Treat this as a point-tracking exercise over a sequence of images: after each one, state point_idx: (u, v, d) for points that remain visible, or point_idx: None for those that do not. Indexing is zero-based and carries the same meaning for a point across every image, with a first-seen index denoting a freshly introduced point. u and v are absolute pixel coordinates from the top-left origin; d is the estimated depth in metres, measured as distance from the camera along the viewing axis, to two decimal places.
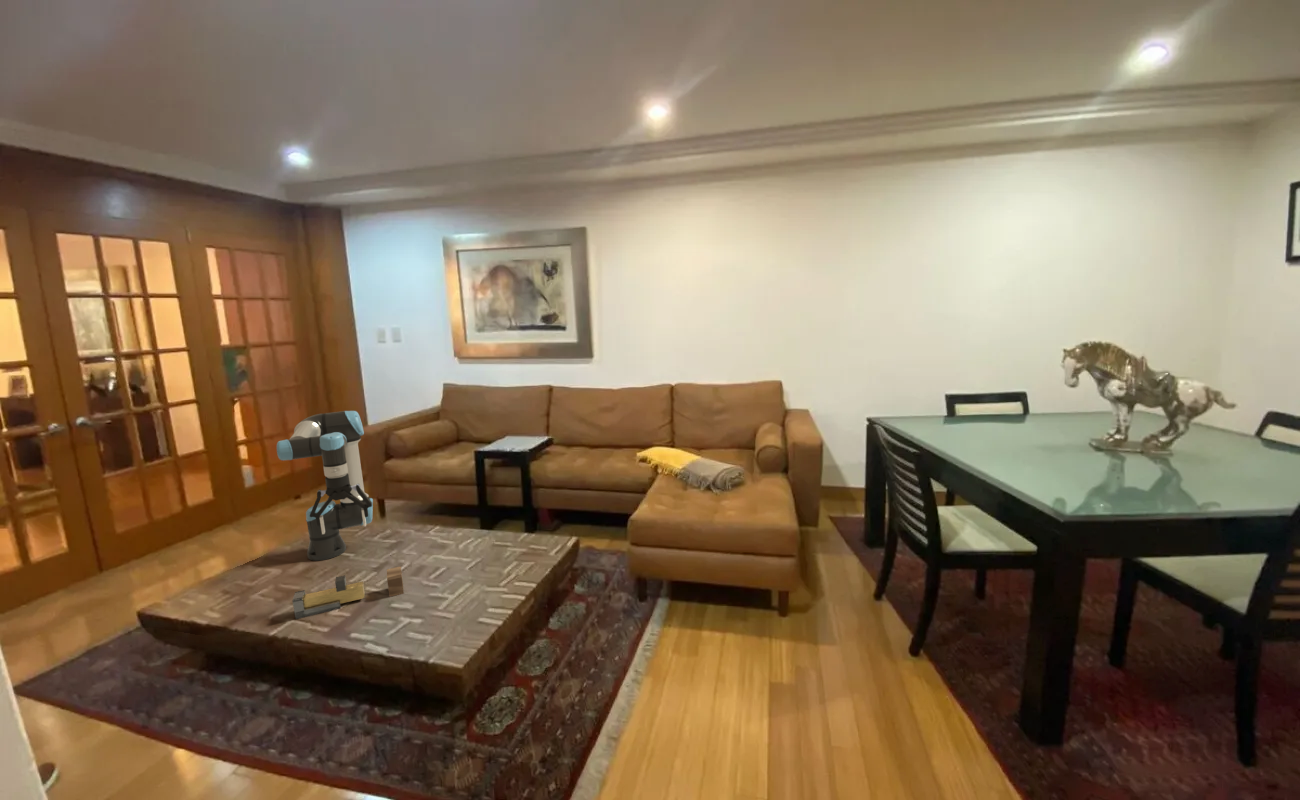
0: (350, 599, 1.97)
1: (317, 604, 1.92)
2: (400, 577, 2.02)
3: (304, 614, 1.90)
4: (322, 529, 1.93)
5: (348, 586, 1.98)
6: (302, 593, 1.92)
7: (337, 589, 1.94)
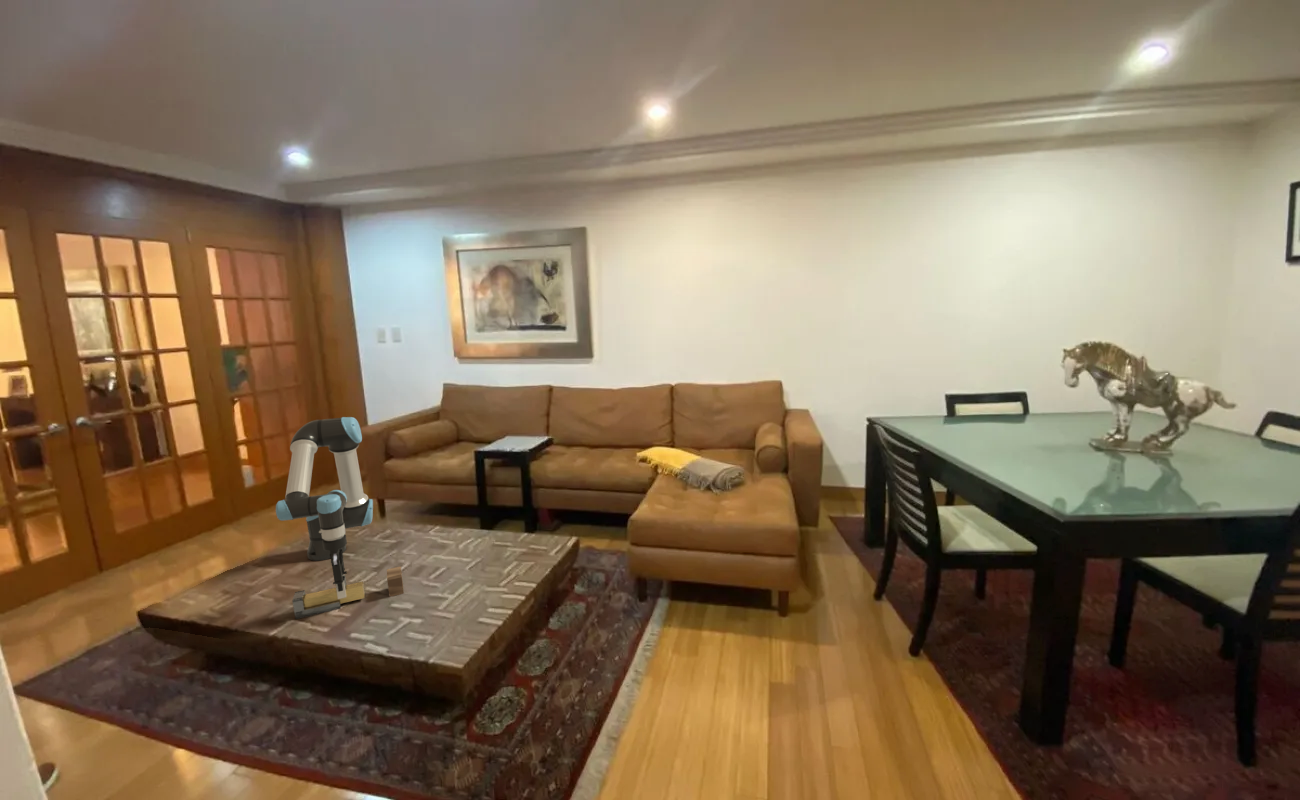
0: (350, 599, 1.97)
1: (317, 604, 1.92)
2: (400, 577, 2.02)
3: (304, 614, 1.90)
4: None
5: (348, 586, 1.98)
6: (302, 593, 1.92)
7: None
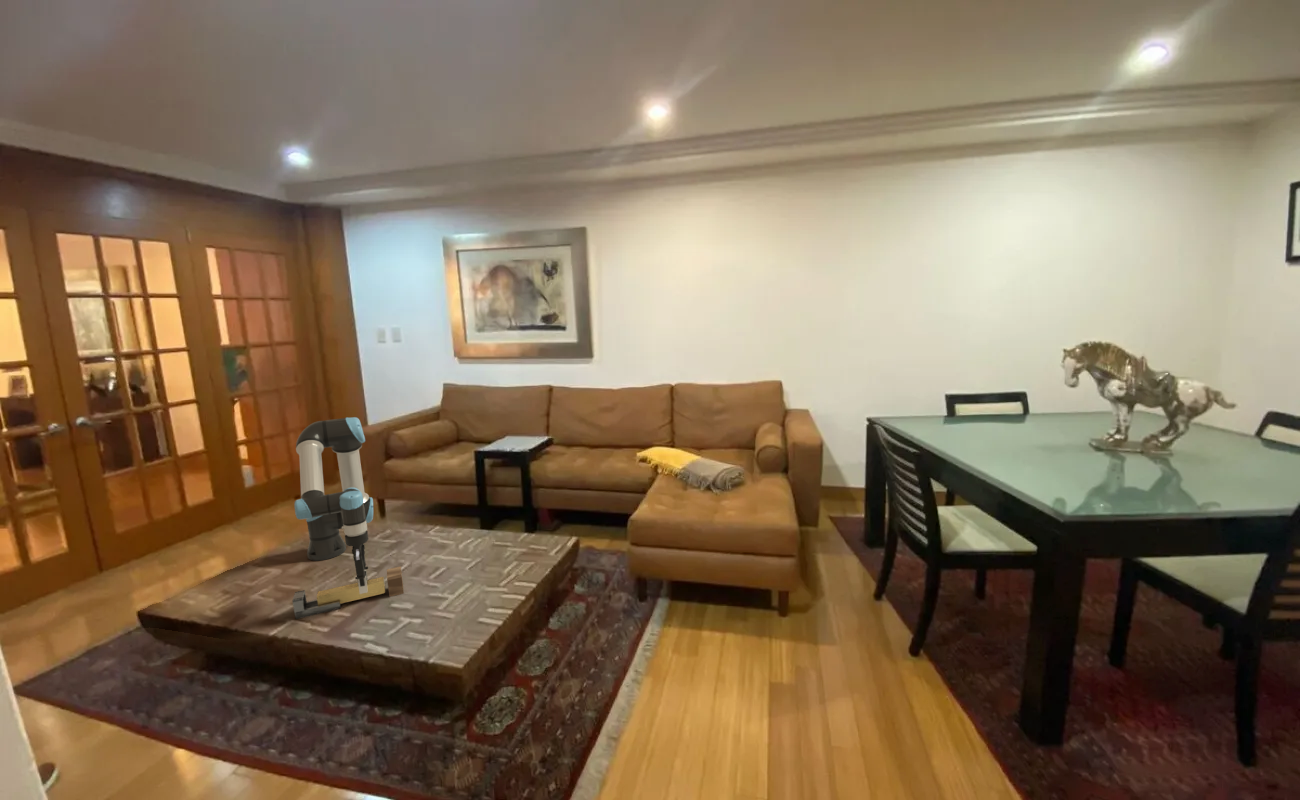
0: (371, 594, 2.00)
1: (339, 599, 1.95)
2: (400, 577, 2.02)
3: (304, 614, 1.90)
4: None
5: (369, 581, 2.01)
6: (302, 593, 1.92)
7: None
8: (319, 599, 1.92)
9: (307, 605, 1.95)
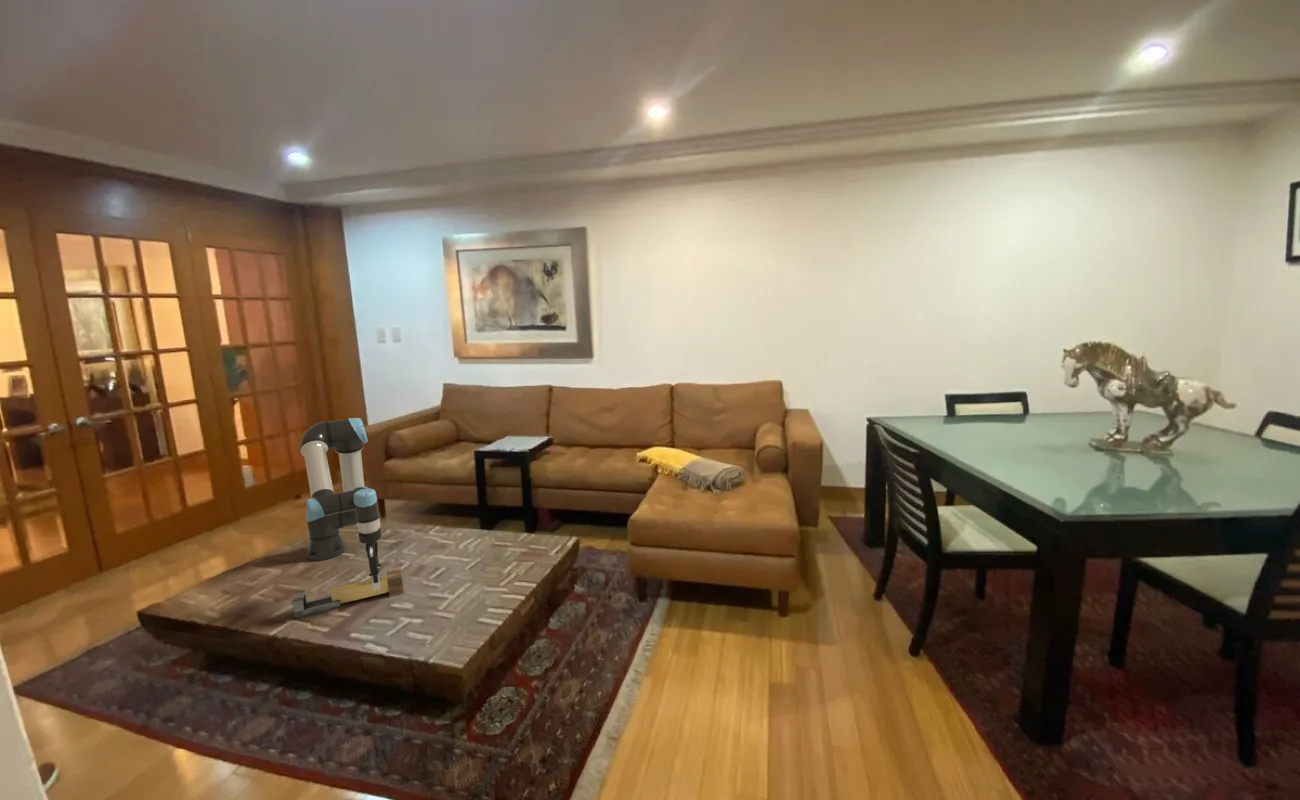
0: (384, 591, 2.02)
1: (353, 595, 1.97)
2: (400, 577, 2.02)
3: (304, 614, 1.90)
4: None
5: (382, 578, 2.03)
6: (302, 593, 1.92)
7: None
8: (334, 595, 1.94)
9: (307, 605, 1.95)
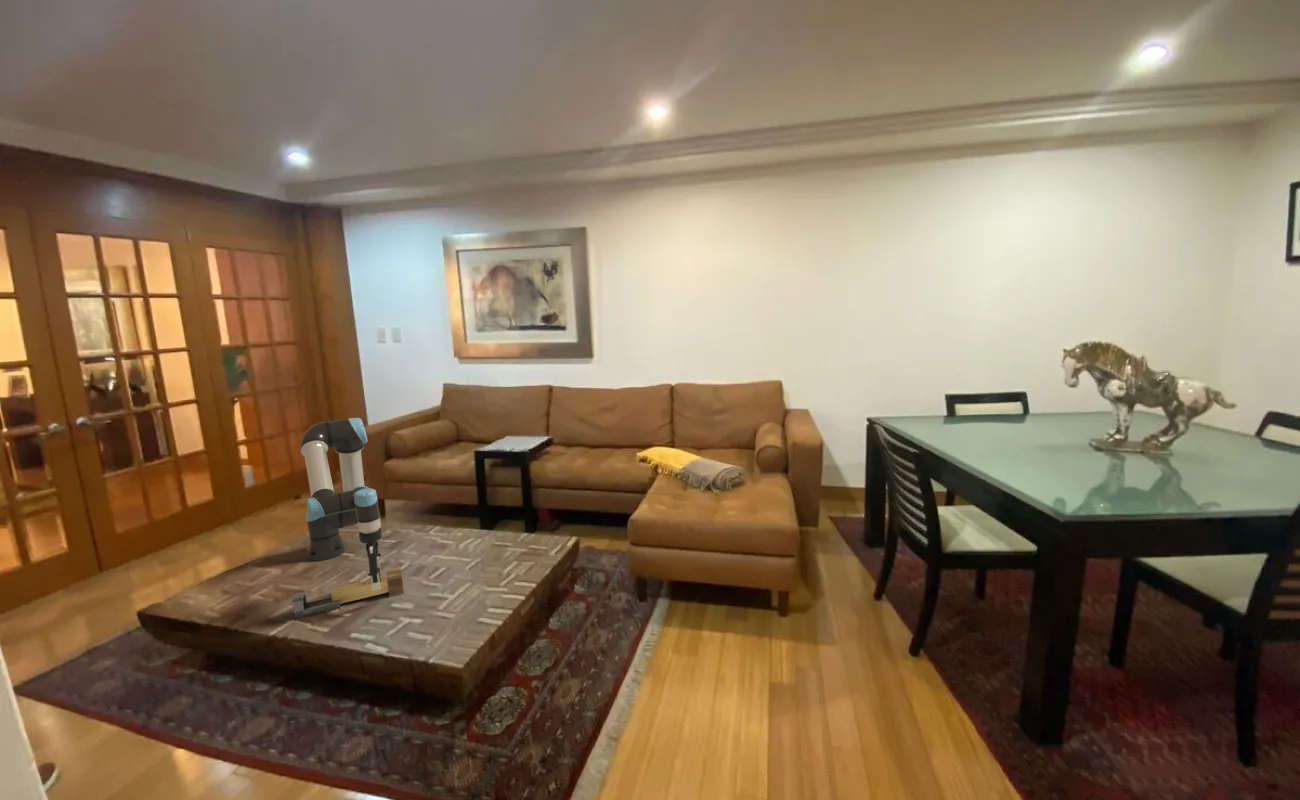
0: (385, 591, 2.02)
1: (354, 595, 1.97)
2: (400, 577, 2.02)
3: (304, 614, 1.90)
4: None
5: (383, 578, 2.03)
6: (302, 593, 1.92)
7: None
8: (334, 595, 1.94)
9: (307, 605, 1.95)
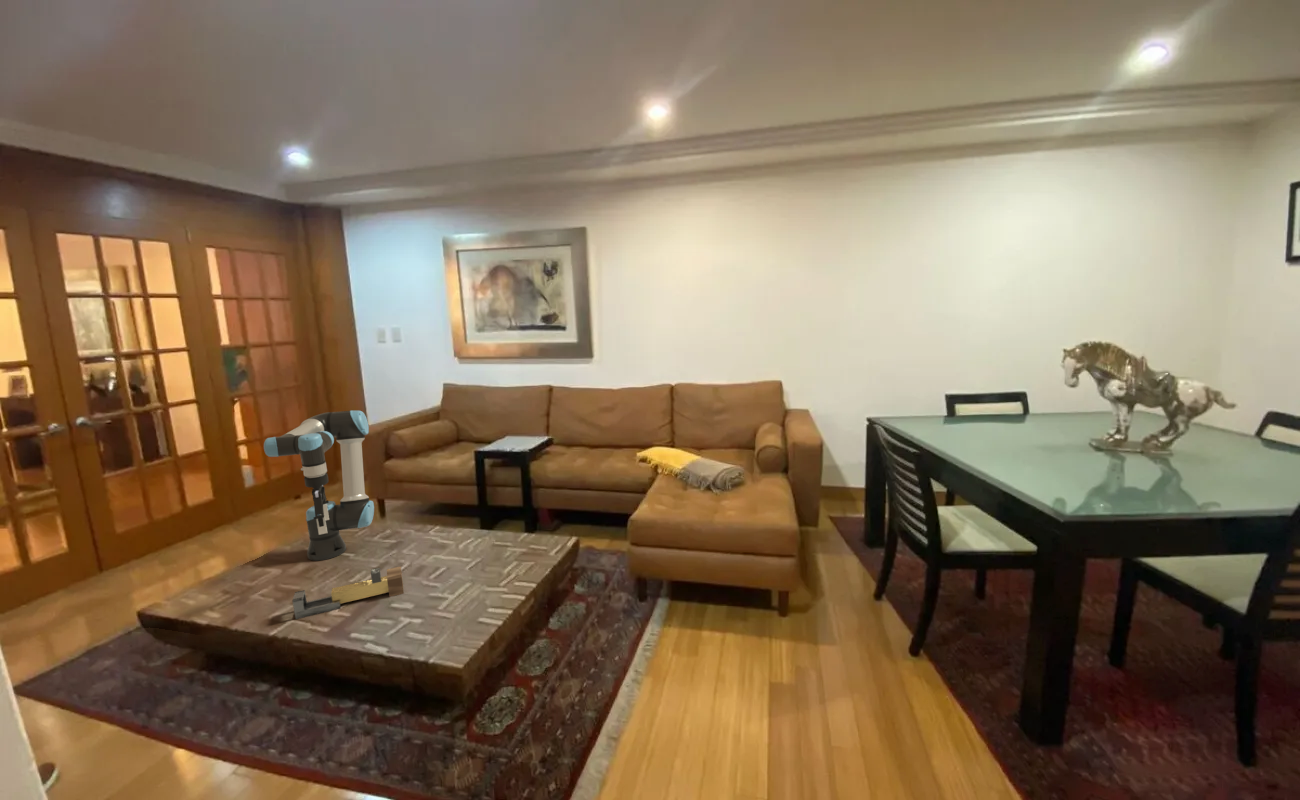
0: (385, 591, 2.02)
1: (354, 595, 1.97)
2: (400, 577, 2.02)
3: (304, 614, 1.90)
4: None
5: (383, 578, 2.03)
6: (302, 593, 1.92)
7: (373, 581, 1.99)
8: (334, 595, 1.94)
9: (307, 605, 1.95)
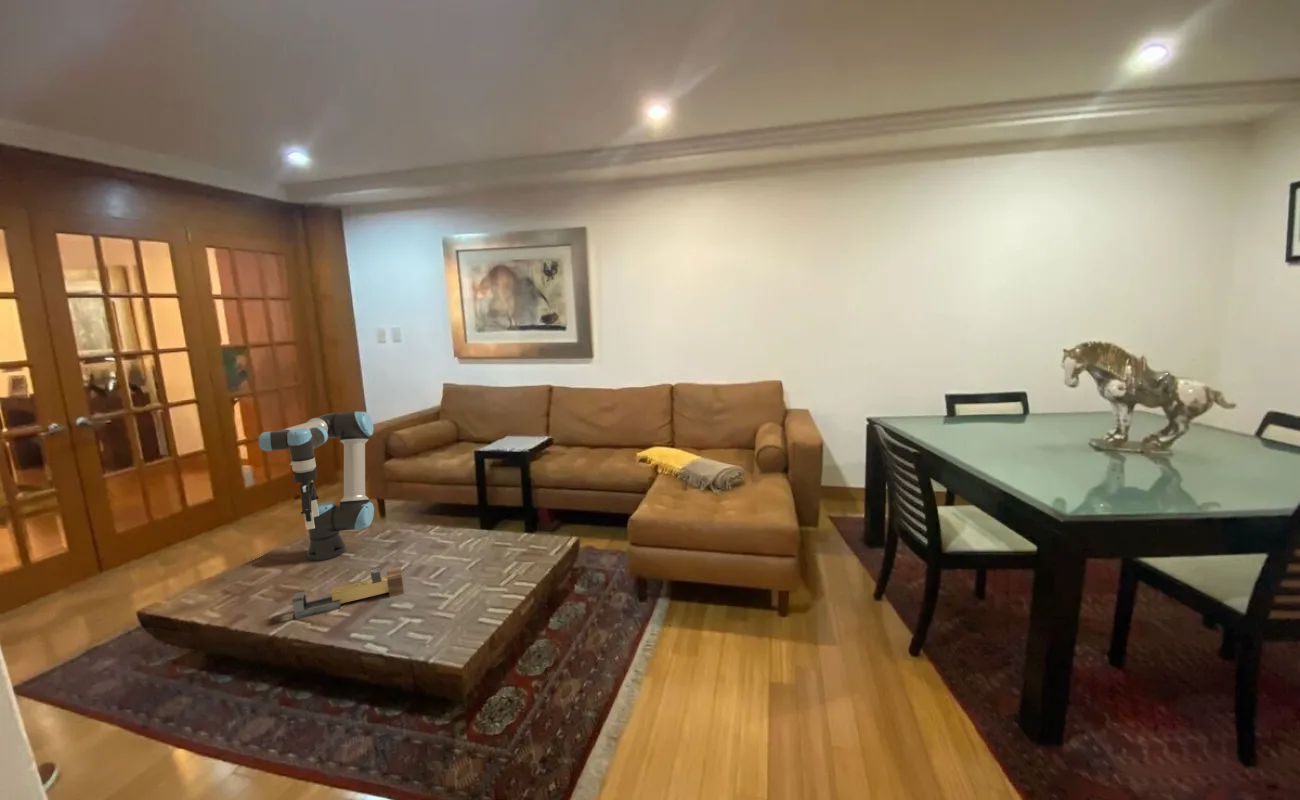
0: (385, 591, 2.02)
1: (354, 595, 1.97)
2: (400, 577, 2.02)
3: (304, 614, 1.90)
4: None
5: (383, 578, 2.03)
6: (302, 593, 1.92)
7: (373, 581, 1.99)
8: (334, 595, 1.94)
9: (307, 605, 1.95)
